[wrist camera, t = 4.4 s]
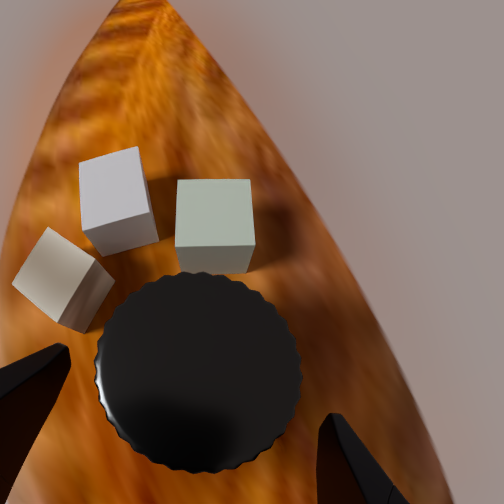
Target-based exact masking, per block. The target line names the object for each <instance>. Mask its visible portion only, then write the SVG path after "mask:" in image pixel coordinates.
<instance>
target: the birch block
mask: <svg viewBox="0 0 504 504" xmlns="http://www.w3.org/2000/svg"><path fill="white" fill-rule="evenodd" d="M114 282H115V280H114V279H113V278H112V277H111V276H110V275H109V274H108V272H107V271H106V270H105V269H104V268H103V267H102V266H101V265H100V263H99V262H98V261H97V260H96V259H95V258H93V257H92V256H90V255H89V254H87V253H86V252H84V251H83V250H81V249H80V248H78V247H77V246H75V245H74V244H72V243H71V242H69V241H68V240H66V239H65V238H63V237H62V236H60V235H59V234H58V233H56V232H55V231H53V230H52V229H50V228H49V227H48V228H47V229H46V230H45V232H44V233H43V235H42V236H41V238H40V239H39V241H38V242H37V244H36V245H35V247H34V248H33V250H32V252H31V253H30V255H29V256H28V258H27V260H26V261H25V263H24V264H23V266H22V268H21V269H20V271H19V273H18V274H17V276H16V278H15V279H14V281H13V283H12V284H13V285H14V286H15V287H16V288H17V289H18V290H19V291H20V292H21V293H22V294H23V295H25V296H26V297H27V298H28V299H29V300H30V301H31V302H33V303H34V304H35V305H36V306H37V307H38V308H40V309H41V310H42V311H43V312H44V313H46V314H47V315H48V316H49V317H50V318H52V319H53V320H54V321H55V322H57V323H59V324H61V325H63V326H66V327H68V328H71V329H73V330H75V331H78V332H80V333H83V334H84V333H85V331H86V330H87V328H88V326H89V324H90V323H91V321H92V319H93V317H94V316H95V314H96V312H97V311H98V309H99V307H100V306H101V304H102V302H103V300H104V299H105V297H106V296H107V294H108V292H109V291H110V289H111V287H112V286H113V284H114Z"/></svg>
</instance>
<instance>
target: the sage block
mask: <svg viewBox="0 0 504 504" xmlns="http://www.w3.org/2000/svg"><path fill="white" fill-rule="evenodd" d="M254 248H255V234H254V222H253V210H252V198H251V186H250V179H196V180H178V185H177V204H176V229H175V249H176V253H177V257H178V260H179V264H180V268H181V272H183V271H185V272H189V273H192V274H196V273H198V272H203V271H204V272H206V273H209V274H239V273H246V272H247V269H248V266H249V263H250V260H251V257H252V254H253V251H254Z"/></svg>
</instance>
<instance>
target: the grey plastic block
mask: <svg viewBox="0 0 504 504" xmlns="http://www.w3.org/2000/svg"><path fill="white" fill-rule="evenodd" d="M79 183H80V205H81V219H82V231H83V232H84V234H85V235H86V236H87V238H88V239H89V240H90V241H91V243H92V244H93V245H94V247H95V248H96V249H97V250H98V252H99V253H100V254H101V256H102V257H104V256H108V255H111V254H115V253H118V252H122V251H126V250H129V249H133V248H137V247H140V246H144V245H148V244H151V243H155V242H159V238H158V234H157V229H156V224H155V220H154V215H153V210H152V206H151V201H150V196H149V191H148V185H147V180H146V177H145V173H144V169H143V165H142V161H141V157H140V153H139V149H138V146H136V147H133V148H129V149H125V150H121V151H118V152H114V153H111V154H107V155H104V156H100V157H97V158H94V159H90V160H87V161H84V162H81V163H79Z"/></svg>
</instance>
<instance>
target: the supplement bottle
mask: <svg viewBox="0 0 504 504" xmlns="http://www.w3.org/2000/svg"><path fill="white" fill-rule="evenodd" d="M97 347H98V353H97V355H96V357H95V359H94V365H95V368H96V375H95V379H94V382H95V384H96V387H97V388H98V390H99V395H98V399H99V402H100V404H101V405H102V407H103V408H104V409H105V412H106V418H107V420H108V421H109V422H110V423H111V424H112V425H113V426H114V427H115V429H116V431H117V434H118V436H119V437H120V438H122V439H123V440H125V441H127V442H128V443H129V444H130V445H131V447H132V449H133V450H134V451H135V452H137V453H140V454H143V455H145V456H146V457H147V458H148V459H149V460H150V461H151V462H152V463H157V464H164V465H165V466H167V467H168V468H169V469H171V470H185V471H187V472H189V473H192V474H197V473H201V472H208V473H213V474H215V473H218V472H220V471H222V470H224V469H236V468H238V467H239V466H240V465H241V464H242V463H244V462H250V461H254V460H255V459H256V458H257V457H258V455H259V454H260V453H261V452H263V451H266V450H268V449H270V448H271V447H272V445H273V443H274V441H275V439H277V438H278V437H280V436H281V435H283V434H284V432H285V429H286V425H287V423H288V422H289V421H290V420H291V419H292V418H293V417H294V415H295V406H296V404H297V402H298V401H299V399H300V398H301V395H300V384H301V382H302V379H303V376H302V373H301V371H300V363H301V356H300V354H299V353H298V352H297V349H296V338H295V337H294V336H293V335H292V334H291V333H290V332H289V329H288V324H287V321H286V320H285V319H284V318H283V317H281V316H280V315H278V312H277V310H276V308H275V306H274V305H273V304H271V303H269V302H267V301H265V300H264V298H263V297H262V295H261V294H260V292H258V291H255V290H250V289H249V288H248V287H247V286H246V285H245V284H244V283H243V282H240V281H231V280H230V279H229V278H227V277H226V276H224V275H214V276H212V275H211V274H209V273H206V272H204V271H203V272H198V273H196V274H192V273H189V272H185V271H183V272H181V273H179V274H177V275H175V276H171V275H164V276H162V277H161V278H159V279H158V280H157V281H156V282H148V283H145V284H144V285H143V286H142V288H141V289H140V290H139V291H135V292H133V293H130V294H129V296H128V297H127V299H126V300H125V302H124V303H123V304H120V305H119V306H117V307H116V308H115V311H114V313H113V316H112V318H111V319H109V320H108V321H107V322H106V323H105V326H104V332H103V335H102V336H101V337H100V338H99V340H98V341H97Z"/></svg>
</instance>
